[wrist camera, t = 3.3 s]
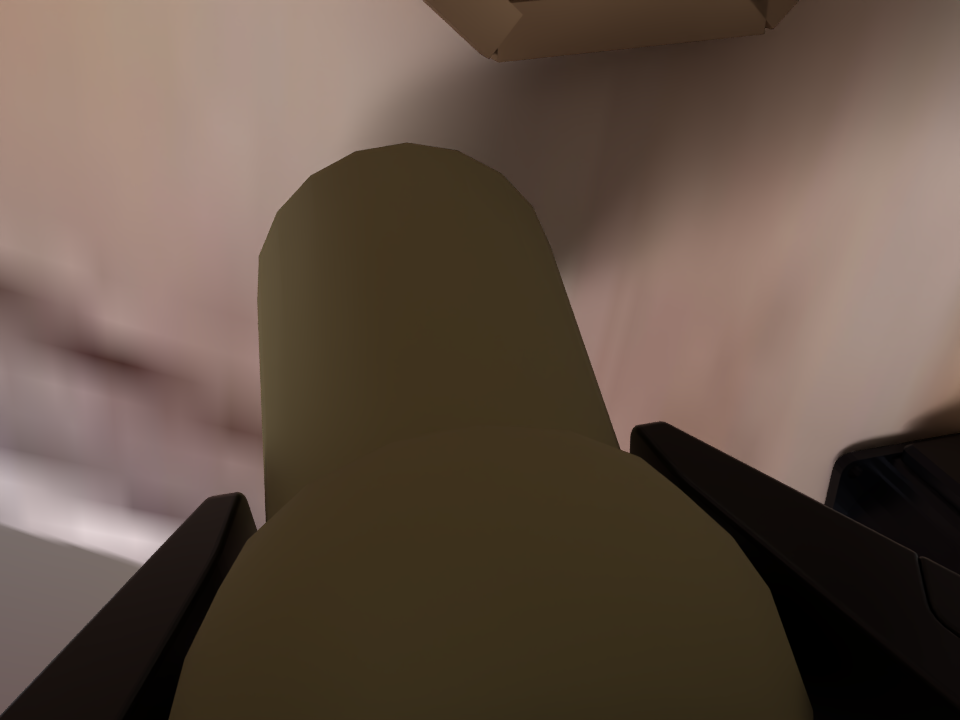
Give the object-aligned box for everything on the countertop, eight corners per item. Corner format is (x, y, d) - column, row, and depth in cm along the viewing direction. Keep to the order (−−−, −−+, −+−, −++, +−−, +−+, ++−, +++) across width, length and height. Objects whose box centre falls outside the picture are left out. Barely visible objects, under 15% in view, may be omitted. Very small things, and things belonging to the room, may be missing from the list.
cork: (199, 334, 14) (-151, 1153, 4) (366, 71, 12) (432, 446, 2) (442, 458, 16) (576, 1149, 7) (612, 257, 14) (1133, 808, 5)
